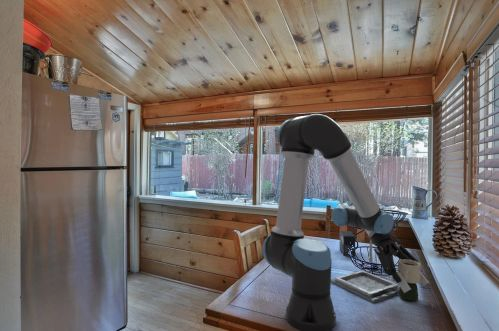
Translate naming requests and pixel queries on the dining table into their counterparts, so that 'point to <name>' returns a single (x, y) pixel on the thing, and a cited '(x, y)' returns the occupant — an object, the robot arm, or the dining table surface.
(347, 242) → the small box
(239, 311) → the dining table surface
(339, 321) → the dining table surface
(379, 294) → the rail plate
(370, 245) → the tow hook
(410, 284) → the character mug
